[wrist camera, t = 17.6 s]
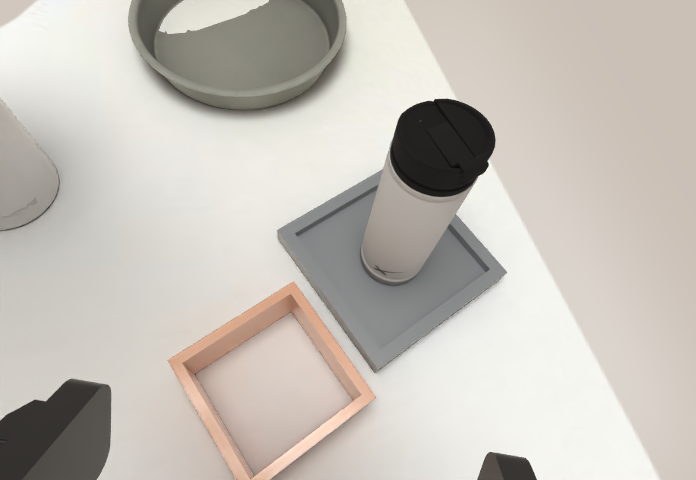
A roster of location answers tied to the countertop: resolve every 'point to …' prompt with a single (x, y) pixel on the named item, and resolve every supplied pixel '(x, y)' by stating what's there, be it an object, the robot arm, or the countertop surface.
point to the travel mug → (423, 185)
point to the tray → (374, 297)
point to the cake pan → (243, 51)
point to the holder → (240, 332)
